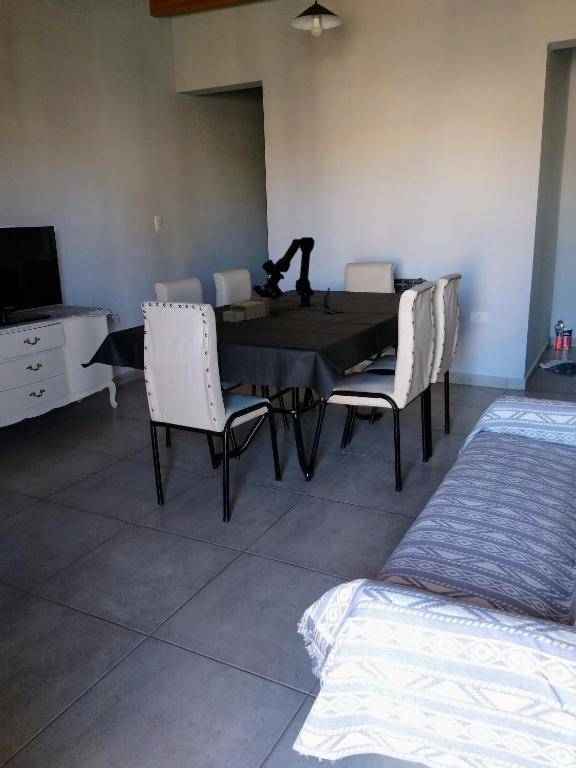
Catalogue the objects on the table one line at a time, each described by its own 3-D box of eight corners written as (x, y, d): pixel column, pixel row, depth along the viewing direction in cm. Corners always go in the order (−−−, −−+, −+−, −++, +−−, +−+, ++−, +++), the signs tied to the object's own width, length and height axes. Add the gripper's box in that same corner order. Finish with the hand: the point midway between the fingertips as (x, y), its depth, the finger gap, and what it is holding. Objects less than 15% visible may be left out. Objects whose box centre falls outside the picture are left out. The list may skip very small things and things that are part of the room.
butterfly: (311, 293, 343) (326, 284, 339) (318, 293, 352) (333, 284, 348) (325, 321, 341) (340, 312, 337) (332, 321, 350) (347, 312, 346)
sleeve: (249, 314, 348) (248, 300, 345) (265, 316, 339) (265, 302, 337) (231, 318, 338) (230, 304, 335) (247, 321, 329) (246, 306, 327)
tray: (252, 314, 349) (251, 296, 346) (269, 316, 341) (268, 297, 338) (220, 320, 333) (219, 301, 330) (237, 323, 324) (236, 303, 321)
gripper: (293, 290, 348) (280, 313, 343) (269, 288, 360) (256, 310, 355) (283, 278, 340) (269, 301, 335) (258, 276, 352) (245, 298, 347)
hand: (260, 303), depth 343 cm, fingers closed
